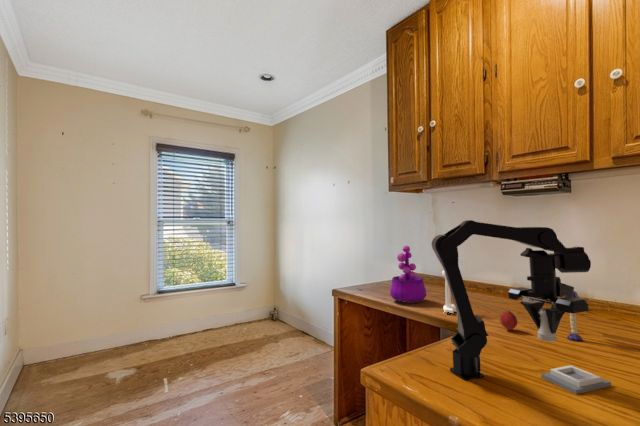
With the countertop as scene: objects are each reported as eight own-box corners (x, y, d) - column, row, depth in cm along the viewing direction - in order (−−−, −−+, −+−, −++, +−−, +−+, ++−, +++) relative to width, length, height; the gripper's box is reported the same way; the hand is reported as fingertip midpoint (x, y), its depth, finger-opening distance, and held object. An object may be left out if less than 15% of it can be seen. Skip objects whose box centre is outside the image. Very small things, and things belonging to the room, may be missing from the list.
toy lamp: (562, 338, 116) (560, 290, 116) (570, 335, 118) (568, 289, 118) (577, 342, 112) (575, 293, 112) (585, 340, 113) (583, 291, 114)
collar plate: (575, 394, 79) (575, 385, 79) (541, 377, 88) (541, 369, 88) (611, 385, 83) (610, 377, 83) (574, 370, 91) (574, 362, 91)
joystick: (444, 308, 159) (442, 267, 160) (461, 309, 156) (459, 267, 156) (442, 314, 149) (440, 270, 150) (460, 315, 146) (458, 271, 146)
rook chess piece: (538, 335, 91) (536, 306, 91) (557, 338, 88) (555, 308, 89) (536, 340, 88) (534, 310, 88) (556, 343, 85) (554, 312, 85)
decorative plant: (408, 308, 161) (406, 247, 162) (383, 300, 177) (381, 245, 178) (434, 302, 171) (432, 245, 172) (408, 296, 187) (406, 243, 188)
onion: (503, 326, 130) (502, 306, 130) (519, 330, 125) (518, 309, 126) (498, 330, 125) (497, 309, 126) (515, 333, 121) (514, 312, 122)
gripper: (602, 275, 82) (606, 337, 81) (534, 266, 100) (537, 318, 99) (569, 279, 79) (574, 344, 78) (505, 269, 97) (508, 323, 96)
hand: (546, 331), depth 88 cm, fingers closed on rook chess piece, 3 cm apart
